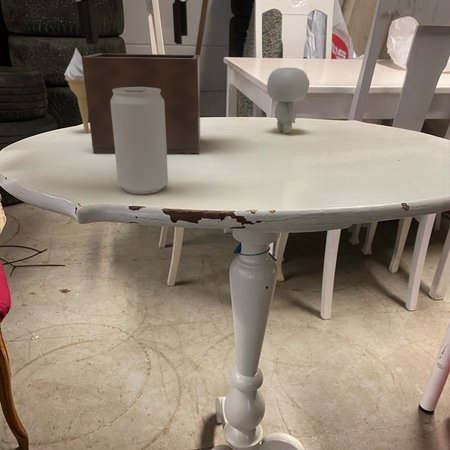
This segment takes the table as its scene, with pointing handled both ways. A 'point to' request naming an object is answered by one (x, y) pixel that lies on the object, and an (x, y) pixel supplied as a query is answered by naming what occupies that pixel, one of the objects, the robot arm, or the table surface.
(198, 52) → the bin lid
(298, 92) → the figurine
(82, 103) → the ice cream cone
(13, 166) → the table surface
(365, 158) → the table surface
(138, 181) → the beverage can
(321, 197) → the table surface
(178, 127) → the bin
